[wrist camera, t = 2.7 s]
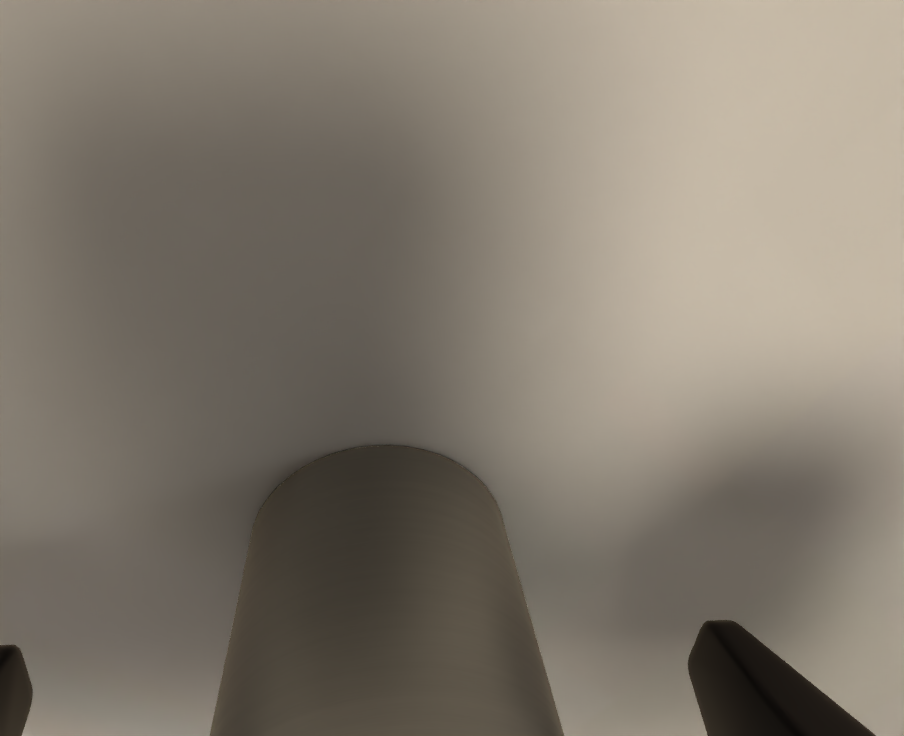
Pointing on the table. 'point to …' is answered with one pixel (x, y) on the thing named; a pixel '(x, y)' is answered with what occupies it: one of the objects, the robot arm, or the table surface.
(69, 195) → the table surface
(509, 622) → the cylinder
